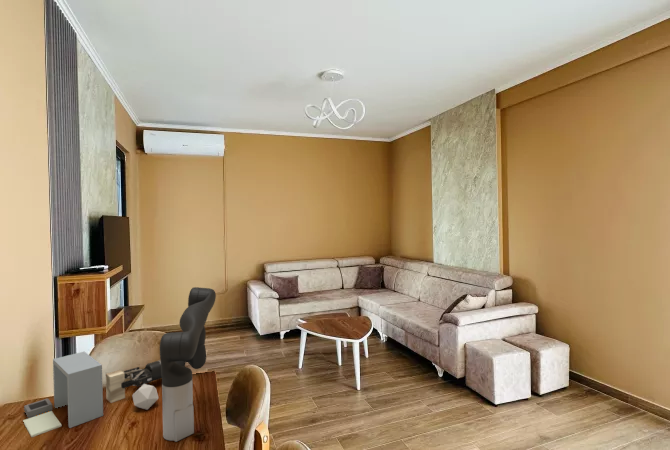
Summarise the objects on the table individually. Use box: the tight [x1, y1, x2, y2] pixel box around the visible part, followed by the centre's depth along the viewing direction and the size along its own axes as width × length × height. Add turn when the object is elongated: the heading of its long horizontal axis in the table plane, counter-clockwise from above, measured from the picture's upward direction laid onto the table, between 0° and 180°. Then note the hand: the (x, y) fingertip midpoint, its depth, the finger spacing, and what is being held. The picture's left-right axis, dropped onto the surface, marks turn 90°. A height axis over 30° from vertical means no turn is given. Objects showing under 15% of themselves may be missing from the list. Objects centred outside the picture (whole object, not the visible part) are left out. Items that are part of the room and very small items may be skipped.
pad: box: [22, 411, 62, 438], centre depth 124 cm, size 14×8×1 cm, turn 50°
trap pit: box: [23, 397, 54, 419], centre depth 133 cm, size 7×7×2 cm
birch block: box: [105, 369, 126, 404], centre depth 142 cm, size 5×5×10 cm
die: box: [132, 383, 159, 411], centre depth 135 cm, size 8×9×10 cm
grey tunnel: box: [52, 351, 104, 429], centre depth 132 cm, size 21×10×18 cm, turn 50°
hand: (117, 382), depth 143 cm, fingers open, 8 cm apart
